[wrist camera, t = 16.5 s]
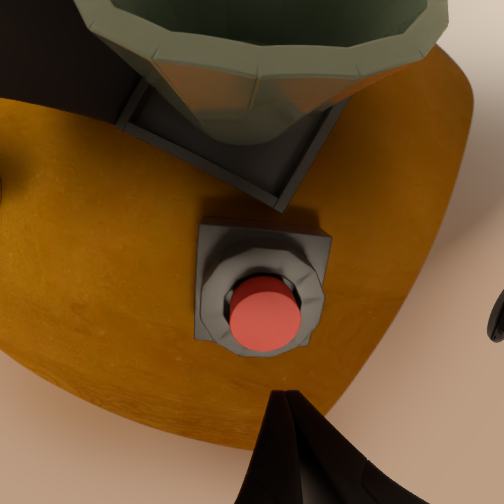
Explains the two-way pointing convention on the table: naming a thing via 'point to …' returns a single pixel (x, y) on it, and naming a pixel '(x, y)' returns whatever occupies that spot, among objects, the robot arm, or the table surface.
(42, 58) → the coffee maker
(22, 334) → the table surface
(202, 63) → the cup
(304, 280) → the button block
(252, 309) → the button
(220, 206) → the table surface
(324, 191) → the table surface
